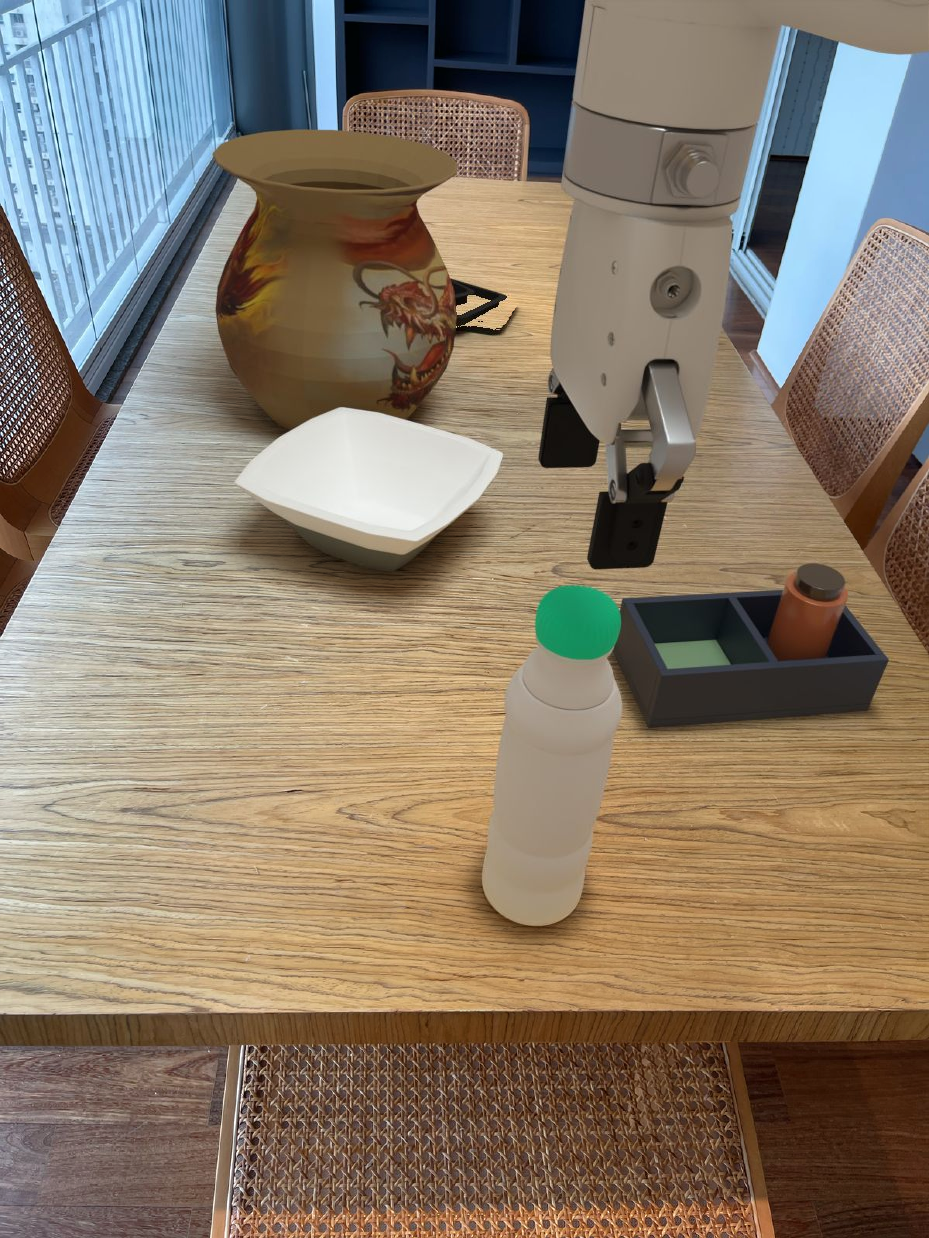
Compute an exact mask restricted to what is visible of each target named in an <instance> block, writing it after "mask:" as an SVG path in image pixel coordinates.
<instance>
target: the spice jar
mask: <svg viewBox="0 0 929 1238" xmlns="http://www.w3.org/2000/svg"><path fill="white" fill-rule="evenodd" d="M845 585H846V578H845V577H844V576H843V574H842V573H840V571H838V570H837V569H835V568H833V567H831V566H829V565H826V564H821V563H816V562H814V563H811V562H809V563H805V564H801V565H800V566H798V567H797V570H796V572H793V573H791V574H790V575H788V576H787V578H786V580H785V583H784V586H783V589H782V590H783V592H782V595H781V598H780V601H779V604H778V607H777V611H776V614H775V617H774V620H773V623H772V626H771V629H770V632H769V635H768V638H767V641H766V643H767V645H768V646H769V648H770V649H771V651H772V652H773V654H774V655H775V657H776V658H777V660H778V661H791V660H806V659H820V658H826V655H827V652H828V650H829V647H830V644H831V642H832V639H833V636H834V634H835V631H836V628H837V626H838V623H839V620H840V618H841V615H842V612H843V610H844V607H845V605H847V602H848V599H849V592H848V590H847V588H846V586H845Z"/></svg>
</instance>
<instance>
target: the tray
mask: <svg viewBox="0 0 929 1238" xmlns="http://www.w3.org/2000/svg"><path fill="white" fill-rule="evenodd" d="M450 280H451V283H452V286H453V289H454V293H455V302H456V306H457V305H461V304H465V303H467V296H468V295H476V296H479V297H481V298H485V299H488V300H491V301H490V302H487V303H485V304H483V305H481V306H479V307H477V308H475V309H473V310H470V311H468V312H466V313H464V314H462V315H456V326H457V328H456V330H458V331H463V332H468V333H476V334H481V335H488V336H497V335H498V334H500V332H501V331H502V329H503V328H496V329H501V330H496V329H495V330H493V329H490V328H483V327H477V326H471V327H470V326H468V327H467V326H461V325H465V324H466V323H468V322H470V321H472V320H473V319H476V318H477V317H479V316H480V315H483V314H485V313H486V312H488V311H489V310H491V309H493V308H496V307H498V305H499V302H500V301H503V300H505V299H506V298H507V296H506V295H507V294H504V293H502V292H497V291H495V290H491V289H488V288H484V287H481V286H477V285H475V284H471V283H468V282H465V281H461V280H457V279H455V278H451V277H450ZM478 322H480V321H478ZM481 322H483V321H481ZM458 326H459V327H458ZM460 326H461V327H460Z"/></svg>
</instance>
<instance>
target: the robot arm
mask: <svg viewBox="0 0 929 1238" xmlns="http://www.w3.org/2000/svg"><path fill="white" fill-rule="evenodd" d="M782 26H784V27H788V28H791V29H794V30H799V31H802V32H805V33H809V34H811V35H815V36H818V37H822V38H825V39H828V40H831V41H834V42H838V43H840V44H844V45H847V46H851V47H853V48H854V47H855V48H858V49H860V50H861V49H862V50H865V51H869V52H874V53H879V54H887V55H898V56H899V55H915V54H924V53H929V0H585V1H584V8H583V17H582V23H581V31H580V38H579V46H578V54H577V62H576V67H575V68H576V69H575V75H574V76H575V77H574V83H573V92H572V100H571V105H570V106H571V107H570V113H569V121H568V129H567V137H566V144H565V152H564V159H563V167H562V177H561V183H560V187H561V189H562V191H564V193H565V194H566V195H567V196H569V197H570V198H572V199H573V201H572V206H571V212H570V215H569V221H568V226H567V232H566V236H565V242H564V245H563V252H562V257H561V262H560V269H559V275H558V279H557V280H558V281H557V286H556V287H557V288H556V293H555V299H554V308H553V315H552V323H551V331H550V332H551V333H550V345H549V347H550V349H549V352H550V353H549V354H550V355H549V356H550V361H551V365H552V368H551V370H550V372H549V374H548V378H547V390H548V393H549V395H550V396H547V397H546V399H545V407H544V414H543V422H542V430H541V436H540V443H539V450H538V451H539V452H538V457H537V459H538V462H539V464H540V466H541V467H542V468H543V469H570V468H592V467H593V466H595V464H596V463H597V458H598V454H599V453H598V452H599V447H600V443H603V444H604V445H605V461H606V478H607V479H606V480H607V491H606V490H605V491H599V493H598V496H597V497H598V498H597V502H596V508H595V512H594V519H593V523H592V529H591V534H590V540H589V545H588V550H587V556H586V560H587V562H588V565H589V567H590V568H591V569H593V570H597V571H598V570H618V569H619V570H622V569H645V568H649V567H651V565H653V563H654V561H655V557H656V554H657V549H658V544H659V541H660V536H661V532H662V528H663V523H664V519H665V515H666V511H667V506H668V503H671V502H673V500H674V498H675V495H676V492H677V491H679V490H680V489H681V486H682V484H683V483H684V481H685V476H684V475H685V474H686V472H687V470H688V469H689V468H690V465H691V464H692V463H693V461H694V459H695V457H696V453H697V444H696V443H697V442H696V440H697V438H698V437H699V435H700V432H701V430H702V426H703V422H704V418H705V413H706V409H707V404H708V400H709V394H710V390H711V387H712V380H713V376H714V371H715V364H716V359H717V355H718V349H719V344H720V339H721V333H722V327H723V326H722V325H723V321H724V313H725V308H726V301H727V293H728V287H729V277H730V267H731V266H730V265H731V256H732V244H733V243H732V240H733V225H734V224H733V220H732V219H731V218H730V216H733V215H734V214H735V213H737V211H738V209H739V206H740V202H741V199H742V198H741V197H742V193H743V189H744V185H745V180H746V176H747V171H748V167H749V163H750V160H751V154H752V152H753V151H752V150H753V146H754V142H755V139H756V134H757V129H758V126H759V121H760V118H761V115H762V110H763V106H764V101H765V97H766V93H767V88H768V85H769V81H770V80H769V79H770V76H771V72H772V68H773V63H774V59H775V54H776V50H777V46H778V42H779V38H780V34H781V29H782ZM627 421H648V423H649V427H650V428H640V429H639V428H637V429H633V428H632V429H631V428H630V429H622V424H626V422H627ZM627 448H628V449H629V448H631V449H632V448H651V450H650V453H649V454H648V458H649V460H648V461H647V462H641V463H639V464H638V465H636V466H634V468H632V469H631V470H630V471H628V464H627Z"/></svg>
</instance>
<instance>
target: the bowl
mask: <svg viewBox="0 0 929 1238" xmlns="http://www.w3.org/2000/svg"><path fill="white" fill-rule="evenodd" d="M503 458H504V452H502V451H500V450H498V449H495V448H493V447H490V446H488V445H487V444H484V443H481V442H479V441H477V440H476V439H473V438H470V437H466V436H463V435H460V434H456V433H453V432H450V431H446V430H443V429H440V428H436V427H432V426H429V425H426V424H422V423H418V422H415V421H411V420H408V419H407V420H404V419H400V418H397V417H393V416H389V415H386V414H382V413H378V412H371V411H365V410H358V409H351V408H345V407H339V408H337V409H334V410H332V411H329V412H327V413H324V414H322V415H319V416H317V417H315V418H312V419H310V420H308V421H307V422H305V423H303V424H301V425H300V426H298V427H296V428H294V429H293V430H291V431H290V430H288V431H287V432H286V433H284V434H282V435H281V436H278V437H277V438H275V440H273V441H272V442H271V443H270V444H269V445H267V446H266V447H265V448H264V449H262V451H260V453H258V454H257V455H256V456H255V457H253V458H252V459H251V460H250V461H249V462H248V463H247V465H246V466H245V467H244V469H243V470H242V471H241V473H240V474H239V475H238V476H237V477H236V479H235V480H234V485H235V486H236V487H237V488H239V489H240V490H242V492H244V493H245V494H247V495H249V497H251V498H253V499H254V500H255V501H256V502H258V503H260V504H261V505H262V506H264V507H265V508H266V509H268V510H269V511H271V512H272V513H273V514H276V516H278V517H279V518H281V519H282V520H283V521H284V522H285V523H286V524H287V525H288V526H289V527H290V528H291V529H292V530H293V531H294V532H296V534H298V536H300V537H301V538H302V539H303V540H304V541H305V543H307V544H308V545H309V546H311V547H313V548H314V549H315V550H318V551H320V552H321V553H323V554H326V555H329V556H331V557H334V558H336V559H340V560H343V561H346V562H349V563H352V564H355V565H358V566H360V567H364V568H367V569H370V570H374V571H381V572H386V573H393V572H395V571H397V570H398V569H400V568H402V567H403V566H406V565H407V564H408V563H410V562H411V561H412V560H413V559H415V558H416V556H419V554H421V552H423V551H424V550H425V548H426V547H427V546H428V545H429V544H430V543H431V542H432V541H433V540H434V539H435V538H436V537H437V535H439V534H440V533H441V532H442V531H443V530H445V528H448V526H449V525H451V524H452V523H453V522H454V521H456V519H458V518H459V517H460V516H462V515H463V514H464V513H465V512H466V511H468V510H469V509H470V508H471V507H472V506H474V505H475V504H476V503H477V502H479V501H480V499H481V498H482V496H483V495H484V493H486V490H487V489H488V488H489V486H490V485H491V484H492V483H493V481H494V480H495V478H496V477H497V475H498V472H499V469H500V467H501V464H502V462H503Z"/></svg>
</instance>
